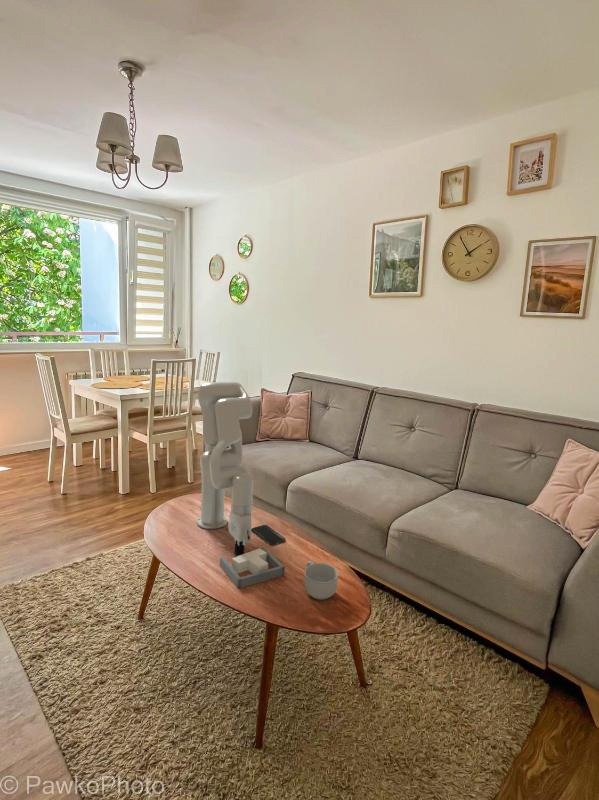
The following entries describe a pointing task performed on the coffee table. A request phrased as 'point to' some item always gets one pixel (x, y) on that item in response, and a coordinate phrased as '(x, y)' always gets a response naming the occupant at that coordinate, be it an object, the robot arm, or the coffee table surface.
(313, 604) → the coffee table surface
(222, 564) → the bay
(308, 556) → the coffee table surface
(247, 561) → the t block
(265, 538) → the phone
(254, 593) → the coffee table surface
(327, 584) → the teacup
